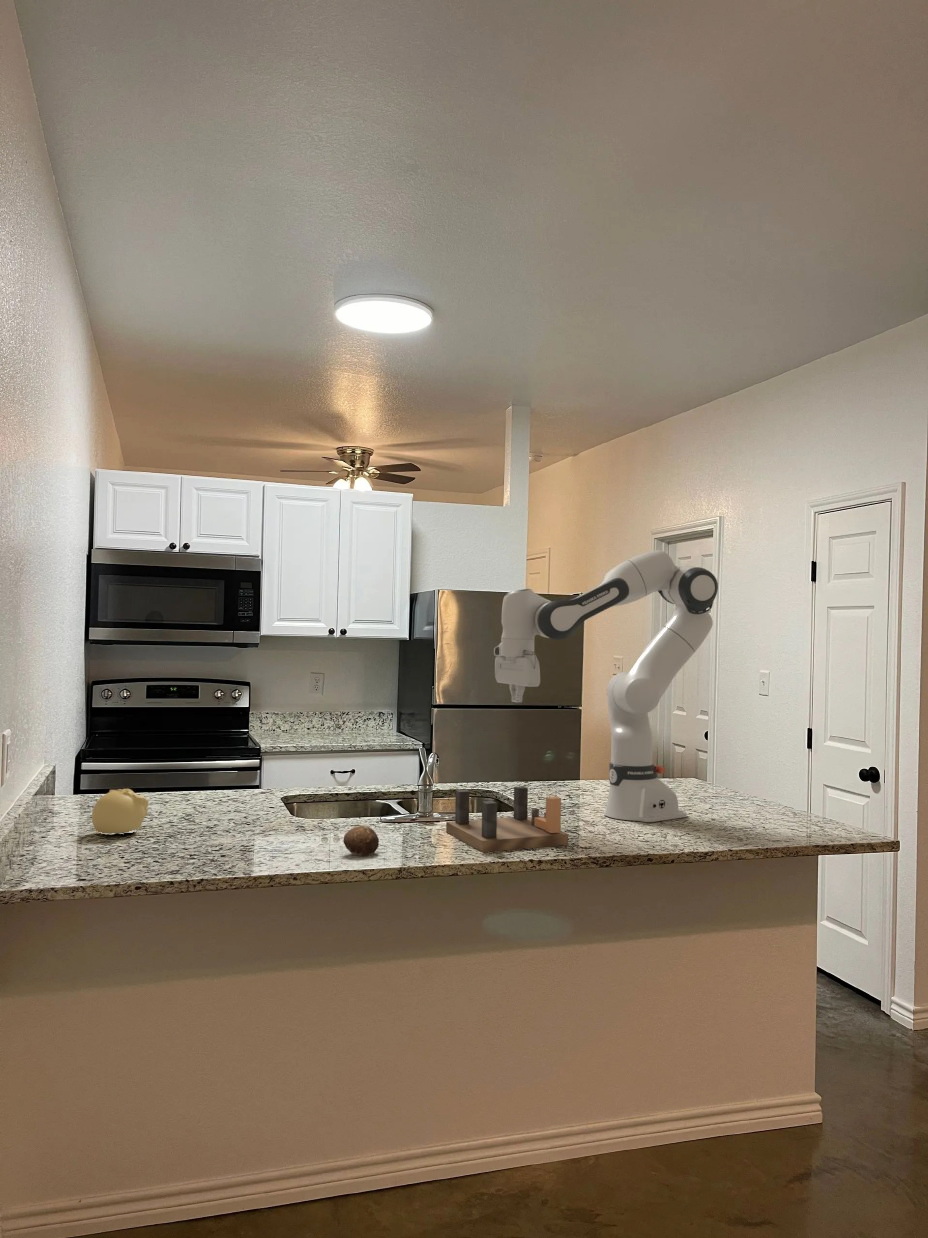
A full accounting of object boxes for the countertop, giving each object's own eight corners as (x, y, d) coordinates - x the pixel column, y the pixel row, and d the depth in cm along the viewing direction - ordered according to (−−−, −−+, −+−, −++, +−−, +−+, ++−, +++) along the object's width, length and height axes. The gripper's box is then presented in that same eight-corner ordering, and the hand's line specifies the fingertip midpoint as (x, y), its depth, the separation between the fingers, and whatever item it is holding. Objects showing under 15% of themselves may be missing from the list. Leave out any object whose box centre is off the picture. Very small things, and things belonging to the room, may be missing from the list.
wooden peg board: (525, 825, 239) (526, 784, 239) (567, 844, 219) (568, 799, 219) (446, 832, 230) (446, 789, 230) (482, 852, 210) (482, 805, 210)
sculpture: (155, 831, 226) (155, 787, 226) (117, 841, 215) (118, 795, 216) (119, 827, 231) (120, 783, 231) (81, 836, 220) (82, 790, 220)
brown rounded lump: (343, 833, 212) (352, 814, 209) (376, 846, 213) (385, 828, 210) (335, 857, 205) (344, 838, 202) (368, 871, 206) (378, 852, 203)
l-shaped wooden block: (533, 825, 226) (533, 792, 226) (542, 825, 227) (543, 792, 227) (550, 833, 218) (551, 799, 218) (560, 832, 219) (561, 798, 219)
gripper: (546, 651, 239) (545, 705, 239) (511, 649, 258) (511, 699, 257) (524, 650, 236) (523, 705, 236) (491, 649, 255) (490, 699, 255)
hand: (516, 702), depth 247 cm, fingers closed
